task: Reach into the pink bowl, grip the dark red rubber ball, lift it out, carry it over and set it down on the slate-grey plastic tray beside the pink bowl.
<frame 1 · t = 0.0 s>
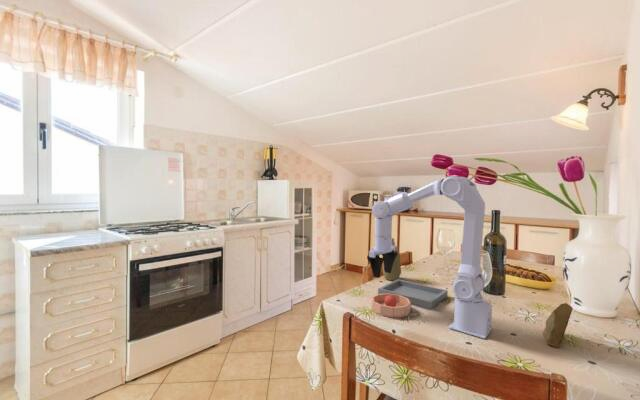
hand: (382, 274, 106), 10 cm above the table, tool pointing down, fingers open, 7 cm apart
ball: (390, 301, 101), point 3 cm above the table, touching pink bowl
squeeze bottle: (391, 279, 135), on the table
pink bowl: (390, 309, 101), on the table
rock: (552, 339, 83), on the table
tray: (412, 296, 114), on the table
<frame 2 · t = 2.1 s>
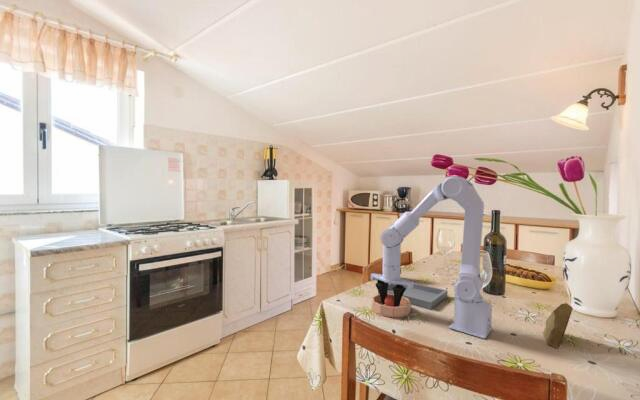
hand: (390, 305, 101), 1 cm above the table, tool pointing down, fingers closed on ball, 4 cm apart
ball: (390, 301, 101), point 3 cm above the table, touching pink bowl, gripper
everything else where it was.
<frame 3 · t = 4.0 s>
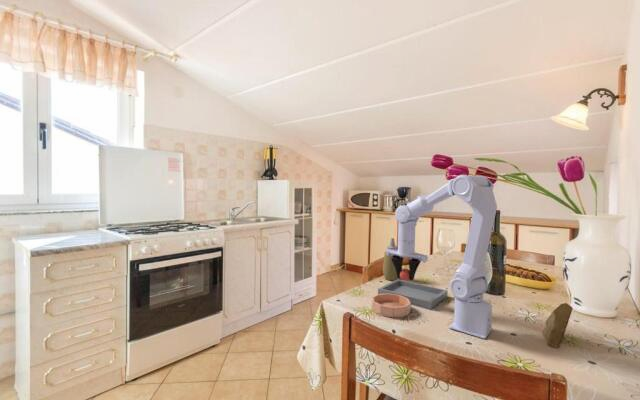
hand: (405, 278, 108), 8 cm above the table, tool pointing down, fingers closed on ball, 4 cm apart
ball: (405, 274, 108), point 10 cm above the table, touching gripper
everything else where it was.
when the fingers open (3 cm above the table, at t = 6.2 s): ball drops 2 cm, resting on tray.
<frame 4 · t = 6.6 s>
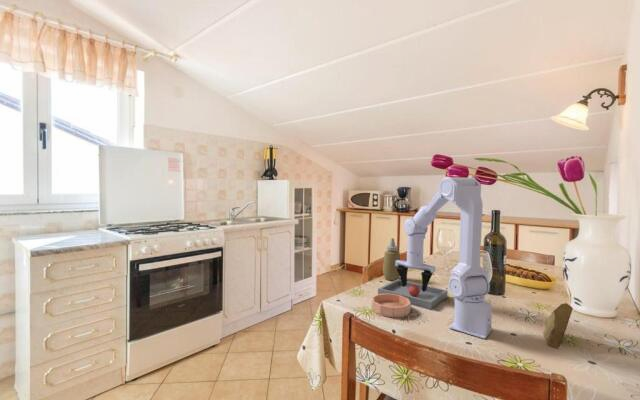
hand: (414, 288, 112), 3 cm above the table, tool pointing down, fingers open, 7 cm apart
ball: (414, 290, 112), point 3 cm above the table, touching tray
everything else where it was.
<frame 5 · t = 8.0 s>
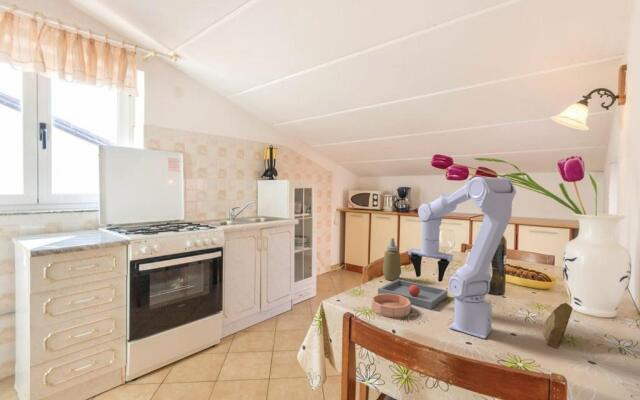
hand: (429, 278, 105), 9 cm above the table, tool pointing down, fingers open, 7 cm apart
nothing on the table moved.
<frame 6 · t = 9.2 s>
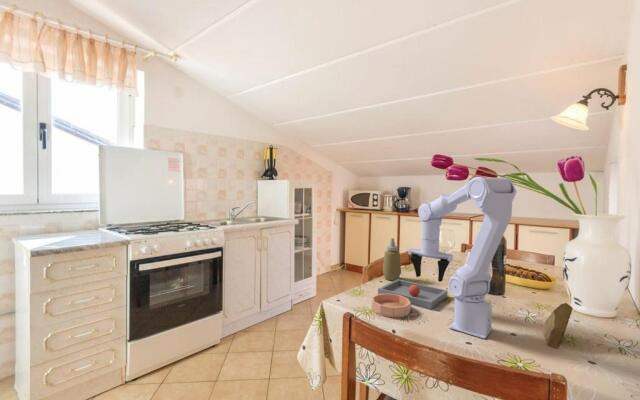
hand: (429, 278, 105), 9 cm above the table, tool pointing down, fingers open, 7 cm apart
nothing on the table moved.
at the end: ball inside the target area on the tray (1.4 cm from its centre), point 2.6 cm above the tray's base; the gripper is holding nothing; ball touching tray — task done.
